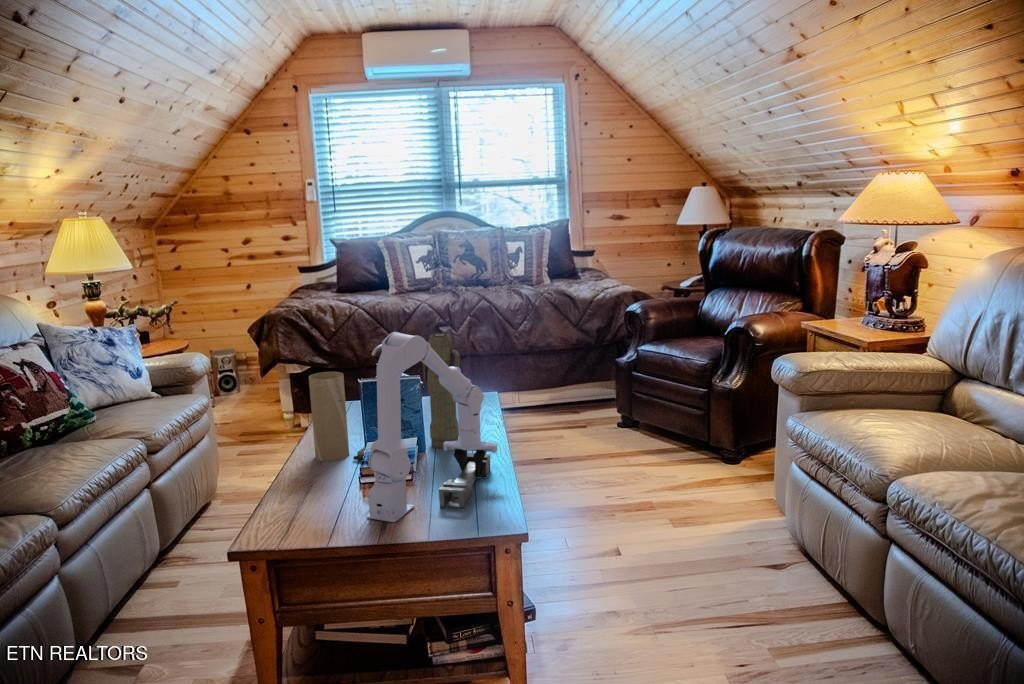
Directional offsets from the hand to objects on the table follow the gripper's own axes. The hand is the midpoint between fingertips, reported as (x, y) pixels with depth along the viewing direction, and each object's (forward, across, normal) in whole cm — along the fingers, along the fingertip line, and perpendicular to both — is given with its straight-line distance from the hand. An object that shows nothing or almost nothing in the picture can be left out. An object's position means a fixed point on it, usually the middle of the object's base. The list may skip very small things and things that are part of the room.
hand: (471, 476), depth 193 cm
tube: (+2, +47, -13) cm, 49 cm away
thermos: (+2, +16, -28) cm, 33 cm away
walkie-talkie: (+2, +29, -11) cm, 31 cm away
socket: (+1, 0, -5) cm, 5 cm away
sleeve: (+1, 0, +14) cm, 14 cm away
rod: (0, 0, +4) cm, 4 cm away
